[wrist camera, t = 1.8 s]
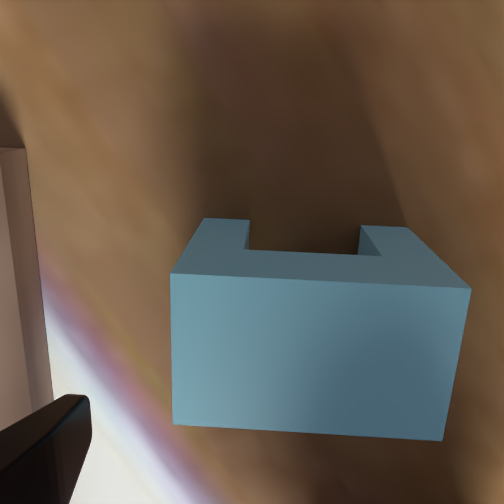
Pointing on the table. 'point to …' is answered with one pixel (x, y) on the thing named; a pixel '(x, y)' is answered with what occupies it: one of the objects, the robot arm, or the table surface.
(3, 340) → the shaft bracket
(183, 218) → the table surface
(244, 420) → the block
